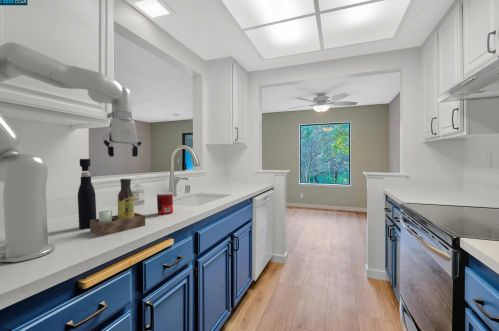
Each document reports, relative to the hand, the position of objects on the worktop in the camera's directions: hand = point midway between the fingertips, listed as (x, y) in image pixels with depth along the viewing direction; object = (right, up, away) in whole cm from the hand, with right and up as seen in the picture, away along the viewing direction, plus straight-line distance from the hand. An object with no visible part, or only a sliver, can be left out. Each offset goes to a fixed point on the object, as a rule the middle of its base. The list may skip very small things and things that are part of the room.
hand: (123, 156), depth 101 cm
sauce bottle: (+1, -30, 0) cm, 30 cm away
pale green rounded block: (-4, -31, -6) cm, 32 cm away
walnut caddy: (-1, -31, -2) cm, 31 cm away
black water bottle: (-16, -31, +1) cm, 35 cm away
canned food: (+9, -30, +24) cm, 40 cm away
